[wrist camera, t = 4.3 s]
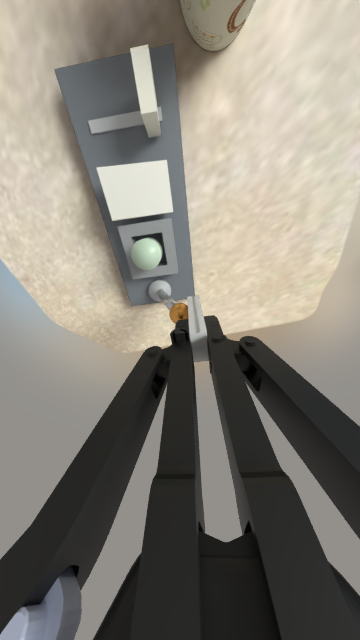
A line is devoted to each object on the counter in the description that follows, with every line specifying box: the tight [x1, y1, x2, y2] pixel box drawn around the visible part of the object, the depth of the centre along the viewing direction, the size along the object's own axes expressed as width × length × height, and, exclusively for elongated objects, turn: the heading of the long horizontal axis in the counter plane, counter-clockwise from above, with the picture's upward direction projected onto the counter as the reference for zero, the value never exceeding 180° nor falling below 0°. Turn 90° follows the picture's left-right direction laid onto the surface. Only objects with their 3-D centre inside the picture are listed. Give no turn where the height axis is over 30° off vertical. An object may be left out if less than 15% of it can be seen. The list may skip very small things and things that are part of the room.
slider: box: [130, 45, 161, 138], centre depth 12 cm, size 3×1×4 cm, turn 7°
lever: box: [157, 289, 189, 323], centre depth 18 cm, size 2×2×8 cm
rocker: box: [97, 160, 173, 221], centre depth 15 cm, size 4×6×1 cm, turn 97°
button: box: [131, 237, 163, 270], centre depth 17 cm, size 3×3×3 cm
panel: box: [54, 44, 195, 306], centre depth 18 cm, size 22×10×4 cm, turn 7°
